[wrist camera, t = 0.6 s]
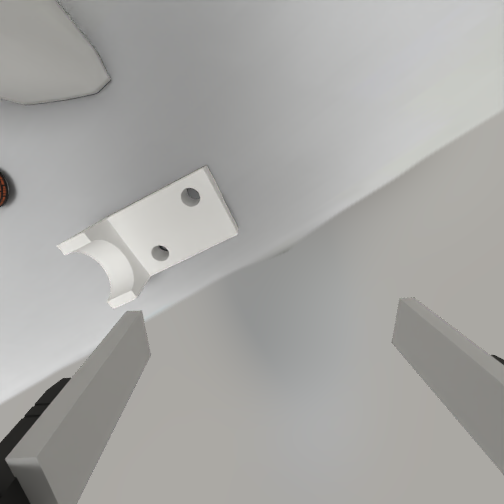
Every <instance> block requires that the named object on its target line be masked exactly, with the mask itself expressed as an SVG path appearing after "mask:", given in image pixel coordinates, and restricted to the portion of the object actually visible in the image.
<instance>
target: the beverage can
mask: <svg viewBox="0 0 504 504" xmlns="http://www.w3.org/2000/svg"><path fill="white" fill-rule="evenodd" d="M8 195H9V187H8V184H7V181H6V180H5V178H4V177H3V175H2V174H1V173H0V207H1V206H3V205H4V204H5V203H6V201H7V199H8Z"/></svg>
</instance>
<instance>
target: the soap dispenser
mask: <svg viewBox="0 0 504 504" xmlns="http://www.w3.org/2000/svg"><path fill="white" fill-rule="evenodd" d="M110 80H111V79H110V77H109V75H108V73H107V71H106V69H105V67H104V65H103V63H102V61H101V59H100V57H99V55H98V53H97V51H96V50H95V49H94V47H93V46H92V45H91V44H90V42H89V41H88V40H87V39H86V37H85V36H84V35H83V34H82V32H81V31H80V30H79V29H78V27H77V26H76V25H75V24H74V22H73V21H72V20H71V19H70V17H69V16H68V15H67V14H66V12H65V11H64V10H63V9H62V7H61V6H60V5H59V4H58V2H57V1H56V0H0V99H4V100H8V101H12V102H16V103H20V104H23V105H31V104H38V103H46V102H53V101H61V100H67V99H72V98H77V97H82V96H86V95H91V94H96V93H98V92H99V91H100V90H101V89H102V88H103V87H104V86H105V85H106V84H107V83H108V82H109V81H110Z"/></svg>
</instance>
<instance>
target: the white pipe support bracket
mask: <svg viewBox="0 0 504 504" xmlns="http://www.w3.org/2000/svg"><path fill="white" fill-rule="evenodd" d="M187 188H193V189H195V190H196V191H197V192H198V193H199V195H200V198H199V199H193V198H191V197H190V196H189V195H188V193H187ZM236 235H238V226H237V224H236V222H235V220H234V218H233V216H232V215H231V213H230V211H229V209H228V207H227V205H226V203H225V201H224V199H223V195H222V193H221V191H220V190H219V188H218V186H217V184H216V182H215V180H214V178H213V176H212V174H211V172H210V170H209V169H208V167H207V165H206V166H204V167H202V168H200V169H198V170H196V171H194V172H192V173H190V174H188V175H186V176H185V177H183V178H181V179H179V180H177V181H175V182H173V183H171V184H169V185H167V186H165V187H163V188H162V189H160V190H158V191H156V192H154V193H152V194H150V195H148V196H146V197H144V198H142V199H141V200H139V201H137V202H135V203H133V204H131V205H129V206H127V207H125V208H123V209H121V210H119V211H118V212H116V213H114V214H112V215H110V216H108V217H106V218H104V219H102V220H100V221H99V222H97V223H95V224H94V225H92V226H90V227H88V228H87V229H85V230H83V231H82V232H80V233H78V234H76V235H75V236H73V237H71V238H70V239H68V240H66V241H64V242H63V243H61V244H59V245H58V246H57V247H58V248H59V249H60V250H61V251H62V252H63V254H64V255H67V254H69V253H75V252H76V253H83V254H86V255H88V256H90V257H92V258H93V259H94V260H96V261H97V262H98V263H99V264H100V265H101V266H102V267H103V269H104V270H105V272H106V274H107V276H108V278H109V281H110V285H111V293H110V297H109V299H108V301H107V303H108V304H109V305H110V306H111V307H112V308H113V309H115V308H117V307H119V306H121V305H124V304H126V303H128V302H130V301H132V300H134V299H136V298H138V296H139V295H140V293H141V291H142V290H143V288H144V286H145V285H146V283H147V282H148V280H149V278H150V277H151V276H152V275H154V274H157V273H159V272H161V271H163V270H165V269H167V268H169V267H171V266H173V265H175V264H177V263H180V262H182V261H184V260H186V259H188V258H190V257H192V256H194V255H196V254H198V253H200V252H203V251H205V250H207V249H209V248H211V247H213V246H215V245H217V244H219V243H221V242H223V241H225V240H228V239H230V238H232V237H234V236H236ZM159 245H161V246H164V247H166V248H167V249H168V251H164V250H162V249H161V248H160V247H159Z"/></svg>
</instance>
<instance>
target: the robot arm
mask: <svg viewBox="0 0 504 504" xmlns="http://www.w3.org/2000/svg"><path fill="white" fill-rule="evenodd" d="M392 344H393V345H394V346H395V347H396V348H397V350H398V351H399V352H400V353H401V354H402V355H403V357H404V358H405V359H406V360H407V361H408V363H409V364H410V365H411V366H412V367H413V368H414V370H415V371H416V372H417V373H418V374H419V376H420V377H421V378H422V379H423V380H424V381H425V383H426V384H427V385H428V386H429V387H430V389H431V390H432V391H433V392H434V393H435V394H436V395H437V397H438V398H439V399H440V400H441V401H442V403H443V404H444V405H445V406H446V407H447V409H448V410H449V411H450V412H451V413H452V414H453V416H454V417H455V418H456V419H457V420H458V422H459V423H460V424H461V425H462V426H463V427H464V429H465V430H466V431H467V432H468V433H469V434H470V436H471V437H472V438H473V439H474V440H475V442H476V443H477V444H478V445H479V446H480V447H481V448H482V450H483V451H484V452H485V453H486V454H487V456H488V457H489V458H490V459H491V460H492V461H493V463H494V464H495V465H496V466H497V468H498V469H499V470H500V471H501V472H502V473H503V475H504V360H503V359H501V358H499V357H497V356H495V355H490V354H488V353H487V352H486V351H484V350H483V349H482V348H480V347H479V346H478V345H476V344H475V343H474V342H472V341H471V340H470V339H468V338H467V337H466V336H464V335H463V334H462V333H461V332H459V331H458V330H457V329H455V328H454V327H452V326H451V325H450V324H449V323H447V322H446V321H445V320H443V319H442V318H441V317H439V316H438V315H437V314H435V313H434V312H433V311H431V310H430V309H429V308H428V307H426V306H425V305H424V304H422V303H421V302H419V301H418V300H417V299H415V298H400V299H399V304H398V310H397V315H396V321H395V327H394V333H393V338H392ZM150 356H151V353H150V348H149V343H148V338H147V333H146V329H145V324H144V319H143V314H142V311H126V312H125V314H124V315H123V316H122V317H121V319H120V320H119V321H118V322H117V323H116V325H115V326H114V327H113V328H112V329H111V331H110V332H109V333H108V334H107V336H106V337H105V338H104V339H103V340H102V342H101V343H100V344H99V345H98V346H97V348H96V349H95V350H94V351H93V353H92V354H91V355H90V356H89V357H88V359H87V360H86V361H85V362H84V363H83V365H82V366H81V367H80V368H79V370H78V371H77V372H76V373H75V375H74V376H73V377H72V378H63V379H61V380H60V381H59V382H57V383H56V384H55V385H53V386H52V387H51V388H49V389H48V390H47V391H46V392H45V393H44V394H43V395H42V397H41V398H40V399H39V400H38V401H37V402H36V403H35V406H34V407H32V408H31V409H30V410H29V411H28V412H27V413H26V415H25V417H24V418H23V419H21V420H20V421H19V422H18V424H17V425H16V426H15V427H14V428H13V429H12V430H11V431H10V433H9V434H8V435H7V436H6V437H5V438H4V439H3V440H2V442H1V443H0V504H77V502H78V500H79V499H80V496H81V494H82V492H83V490H84V488H85V486H86V484H87V482H88V480H89V478H90V476H91V474H92V472H93V470H94V468H95V466H96V464H97V462H98V460H99V458H100V456H101V454H102V452H103V450H104V448H105V446H106V444H107V442H108V440H109V438H110V436H111V434H112V432H113V430H114V428H115V426H116V424H117V422H118V420H119V418H120V416H121V414H122V412H123V410H124V408H125V406H126V404H127V402H128V400H129V398H130V396H131V394H132V392H133V390H134V388H135V386H136V384H137V382H138V380H139V378H140V376H141V374H142V372H143V370H144V368H145V366H146V364H147V362H148V360H149V358H150Z"/></svg>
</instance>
